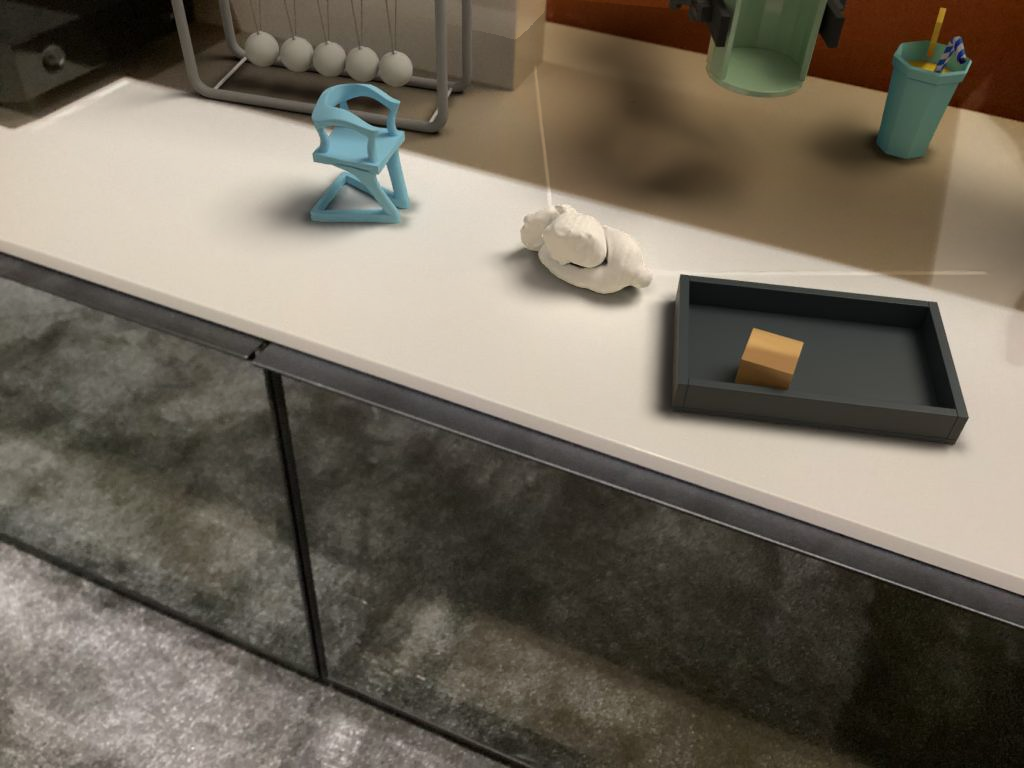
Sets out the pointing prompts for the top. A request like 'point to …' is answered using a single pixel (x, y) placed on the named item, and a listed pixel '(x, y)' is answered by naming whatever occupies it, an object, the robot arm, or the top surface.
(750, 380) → the block
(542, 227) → the baby figurine
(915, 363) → the tray
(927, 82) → the cup
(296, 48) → the newton's cradle
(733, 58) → the pouring cup
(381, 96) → the chair
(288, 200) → the top surface
